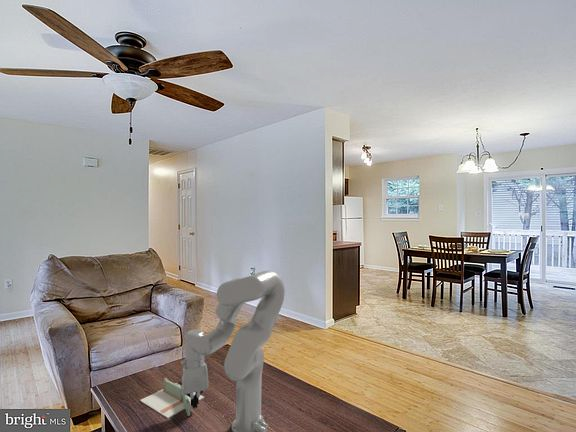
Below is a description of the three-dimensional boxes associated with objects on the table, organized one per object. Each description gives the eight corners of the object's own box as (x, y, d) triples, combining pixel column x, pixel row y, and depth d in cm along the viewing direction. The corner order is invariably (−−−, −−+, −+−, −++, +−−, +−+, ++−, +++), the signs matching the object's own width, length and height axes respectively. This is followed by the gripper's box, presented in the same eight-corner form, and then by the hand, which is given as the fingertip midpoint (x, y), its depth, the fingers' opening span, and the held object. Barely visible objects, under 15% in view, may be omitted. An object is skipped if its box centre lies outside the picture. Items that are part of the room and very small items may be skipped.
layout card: (204, 397, 143) (204, 396, 143) (167, 418, 129) (167, 417, 129) (176, 383, 155) (176, 382, 155) (140, 401, 140) (140, 399, 140)
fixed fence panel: (183, 398, 142) (183, 386, 142) (180, 400, 141) (180, 388, 140) (165, 388, 149) (165, 377, 149) (162, 390, 148) (162, 379, 148)
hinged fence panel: (181, 399, 141) (181, 388, 141) (185, 398, 141) (185, 387, 141) (186, 416, 129) (186, 404, 129) (191, 415, 130) (191, 403, 130)
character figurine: (213, 373, 166) (193, 388, 152) (201, 369, 168) (181, 383, 155) (214, 358, 165) (194, 371, 151) (202, 354, 168) (182, 367, 154)
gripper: (176, 369, 126) (176, 416, 127) (215, 361, 133) (215, 406, 133) (174, 361, 133) (174, 406, 133) (211, 354, 140) (210, 397, 140)
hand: (194, 406), depth 133 cm, fingers closed
